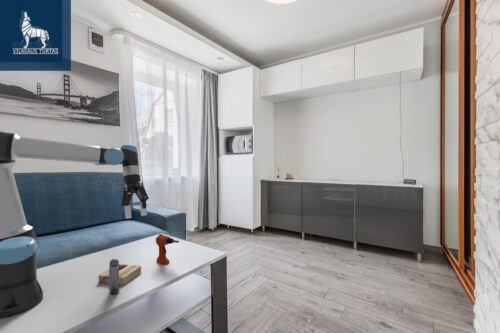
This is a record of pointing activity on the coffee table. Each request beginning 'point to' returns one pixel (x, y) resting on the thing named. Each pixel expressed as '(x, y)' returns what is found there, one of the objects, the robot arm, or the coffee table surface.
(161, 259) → the toy drill
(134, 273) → the block
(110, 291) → the metal round-headed rod
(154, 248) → the coffee table surface
